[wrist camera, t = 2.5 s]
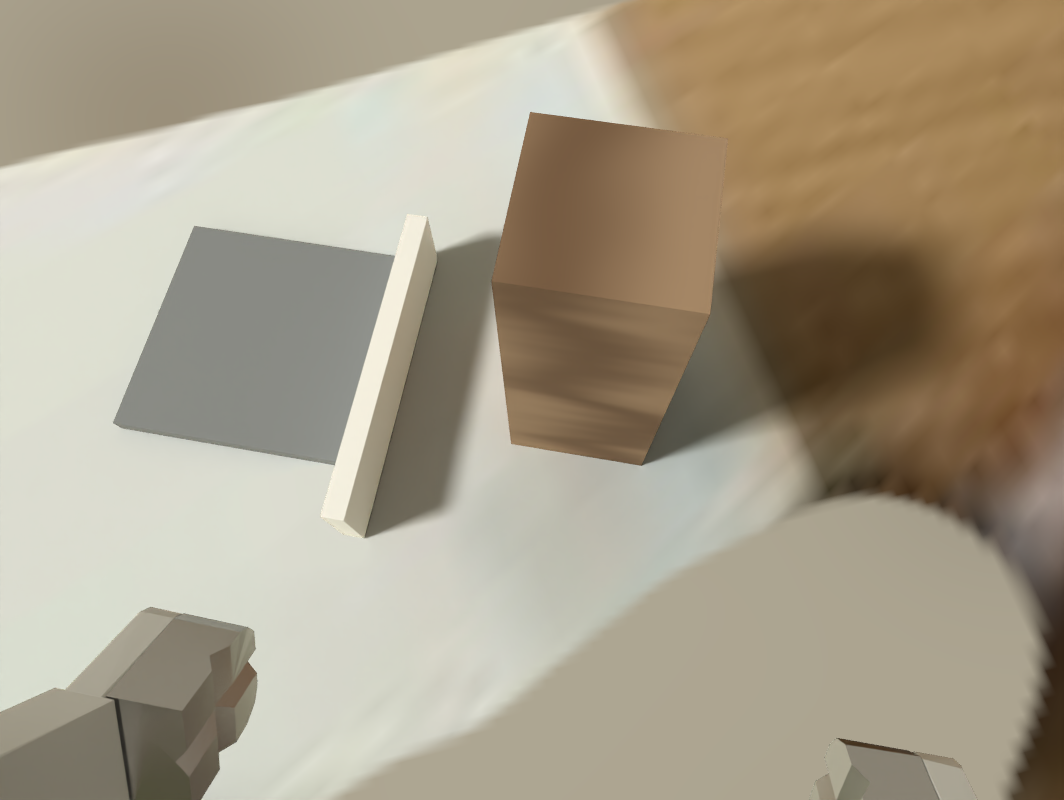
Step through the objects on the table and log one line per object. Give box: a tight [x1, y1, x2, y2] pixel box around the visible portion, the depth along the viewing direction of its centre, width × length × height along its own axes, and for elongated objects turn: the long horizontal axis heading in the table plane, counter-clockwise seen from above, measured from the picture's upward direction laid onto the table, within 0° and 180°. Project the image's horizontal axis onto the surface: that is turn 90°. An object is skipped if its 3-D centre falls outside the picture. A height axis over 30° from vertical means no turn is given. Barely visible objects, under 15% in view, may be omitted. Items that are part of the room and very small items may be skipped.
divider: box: [320, 214, 438, 538], centre depth 27 cm, size 1×12×3 cm, turn 170°
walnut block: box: [492, 112, 728, 465], centre depth 23 cm, size 5×5×12 cm
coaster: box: [113, 226, 395, 465], centre depth 29 cm, size 9×9×1 cm
